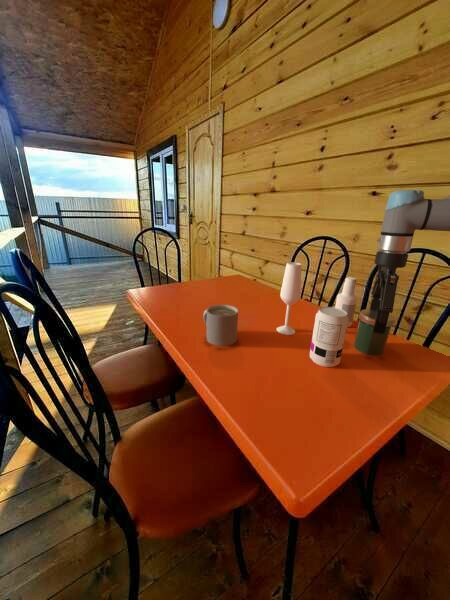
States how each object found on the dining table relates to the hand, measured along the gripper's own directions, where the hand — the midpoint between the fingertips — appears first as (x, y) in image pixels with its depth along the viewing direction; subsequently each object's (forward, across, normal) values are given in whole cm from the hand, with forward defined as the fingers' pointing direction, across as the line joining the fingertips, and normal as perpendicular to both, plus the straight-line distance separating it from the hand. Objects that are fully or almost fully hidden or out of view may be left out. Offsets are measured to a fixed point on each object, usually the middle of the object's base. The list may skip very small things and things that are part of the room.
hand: (375, 325), depth 77 cm
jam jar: (+8, 0, 0) cm, 8 cm away
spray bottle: (+8, -17, -7) cm, 20 cm away
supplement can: (+8, +13, -13) cm, 20 cm away
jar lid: (-3, 0, 0) cm, 3 cm away
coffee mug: (+8, +12, -46) cm, 49 cm away
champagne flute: (+8, -2, -26) cm, 28 cm away
